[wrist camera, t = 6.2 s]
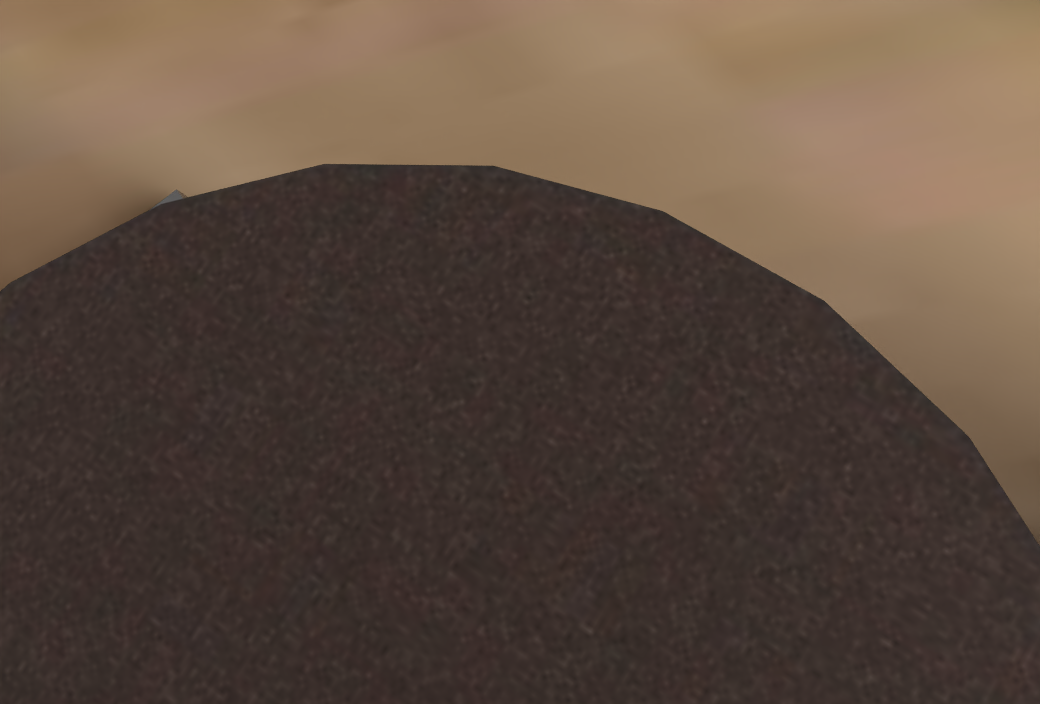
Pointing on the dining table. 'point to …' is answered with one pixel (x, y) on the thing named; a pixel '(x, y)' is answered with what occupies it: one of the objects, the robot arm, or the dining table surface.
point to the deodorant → (478, 466)
